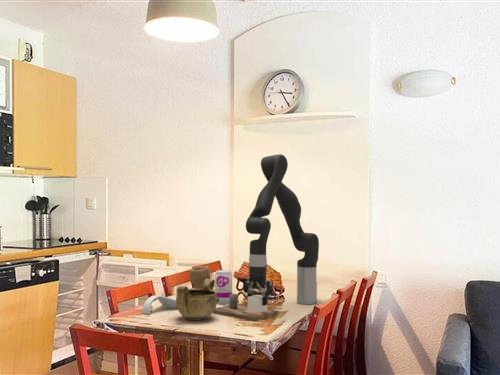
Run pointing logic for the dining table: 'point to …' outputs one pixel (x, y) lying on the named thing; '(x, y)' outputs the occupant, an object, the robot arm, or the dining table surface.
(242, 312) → the post board
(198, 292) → the ceramic bowl
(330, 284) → the dining table surface
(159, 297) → the grey sandal
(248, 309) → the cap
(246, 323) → the dining table surface
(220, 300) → the supplement can
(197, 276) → the stone cup
